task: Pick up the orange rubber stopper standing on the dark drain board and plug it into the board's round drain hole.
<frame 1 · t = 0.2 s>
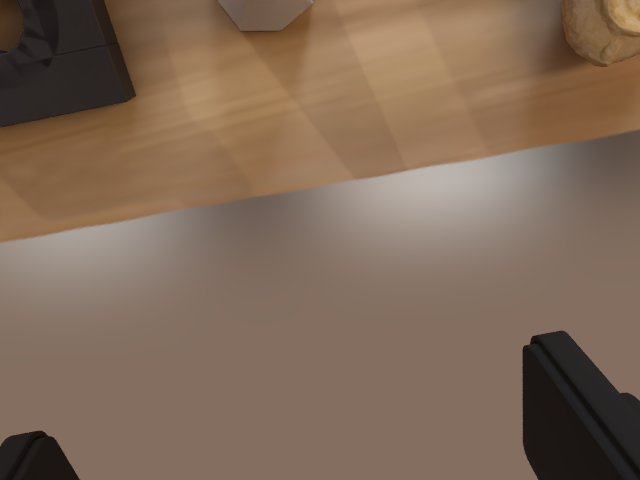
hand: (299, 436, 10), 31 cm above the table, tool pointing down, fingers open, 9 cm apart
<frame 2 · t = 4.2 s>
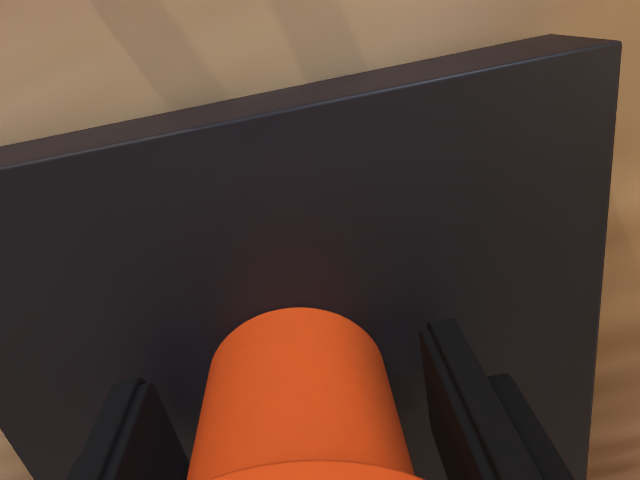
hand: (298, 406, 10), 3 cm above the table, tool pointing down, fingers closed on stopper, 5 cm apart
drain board: (332, 464, 16), on the table
stopper: (297, 379, 11), point 3 cm above the table, touching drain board, gripper
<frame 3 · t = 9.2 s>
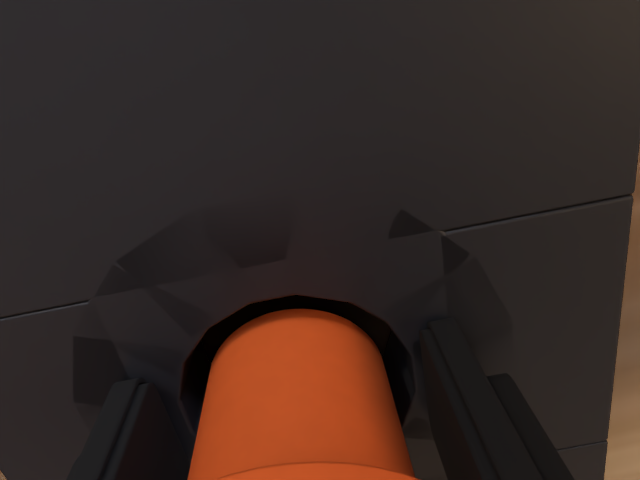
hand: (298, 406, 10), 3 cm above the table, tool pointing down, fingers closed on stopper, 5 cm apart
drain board: (250, 143, 11), on the table
stopper: (298, 380, 11), point 2 cm above the table, touching gripper
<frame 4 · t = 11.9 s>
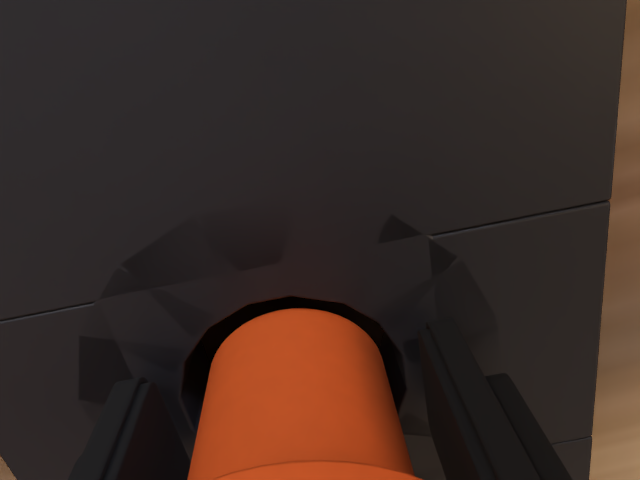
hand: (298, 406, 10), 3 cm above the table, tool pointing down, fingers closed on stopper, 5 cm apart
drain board: (248, 152, 11), on the table
stopper: (297, 379, 11), point 2 cm above the table, touching gripper
when the fingers open (3 cm above the table, at t = 14.5 s): stopper drops 2 cm, resting in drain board.
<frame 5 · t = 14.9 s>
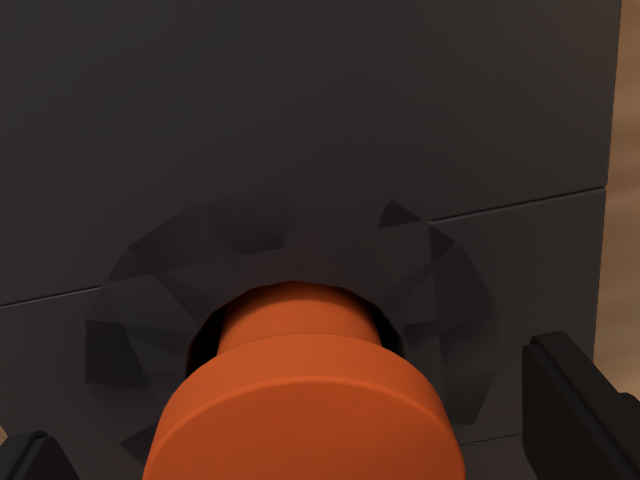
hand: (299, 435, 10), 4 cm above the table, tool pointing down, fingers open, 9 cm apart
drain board: (251, 140, 11), on the table
stopper: (298, 316, 13), resting in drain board
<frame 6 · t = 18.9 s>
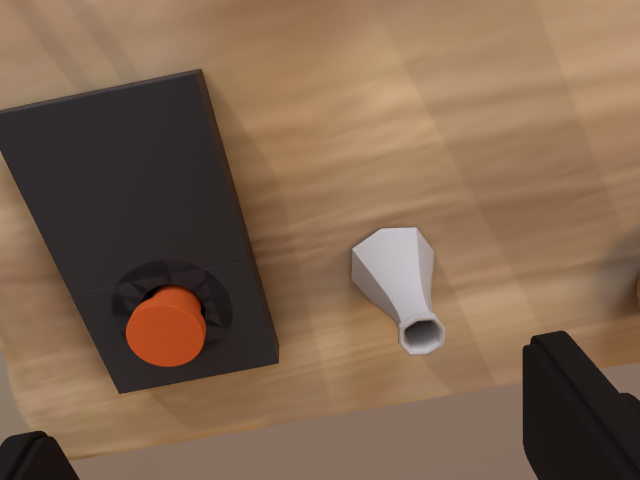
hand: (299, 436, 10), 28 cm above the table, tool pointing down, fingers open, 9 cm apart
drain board: (159, 242, 38), on the table
flask: (391, 263, 41), on the table
stopper: (180, 295, 41), resting in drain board
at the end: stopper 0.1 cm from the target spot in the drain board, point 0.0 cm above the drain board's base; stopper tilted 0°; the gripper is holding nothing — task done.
